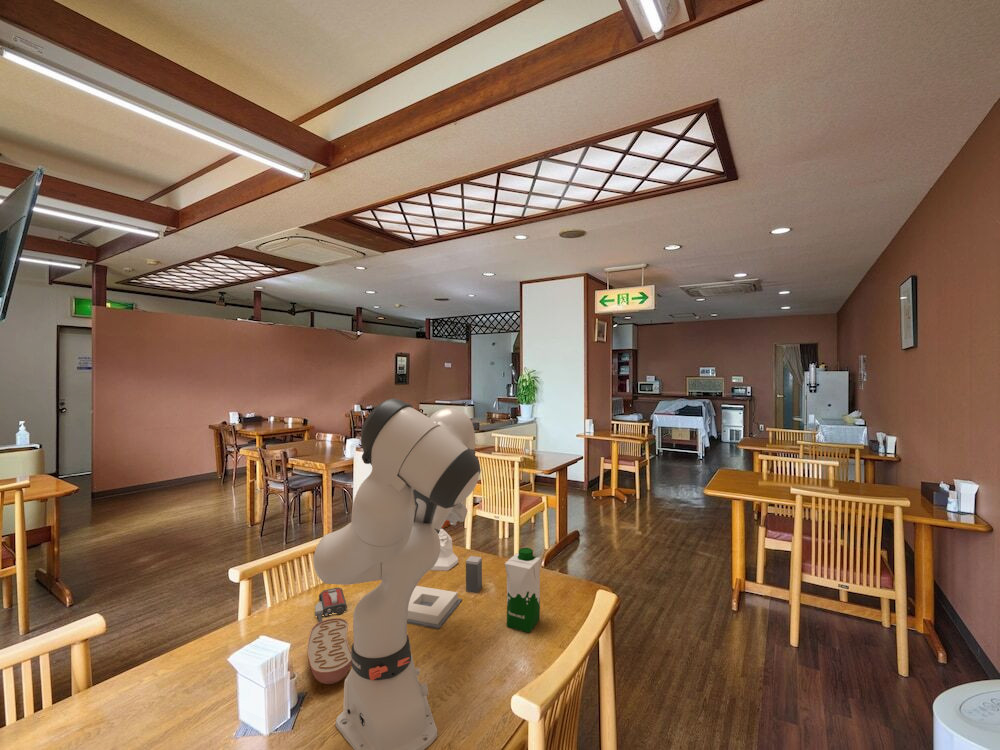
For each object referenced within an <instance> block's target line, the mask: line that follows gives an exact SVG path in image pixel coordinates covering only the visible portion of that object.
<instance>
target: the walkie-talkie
mask: <svg viewBox="0 0 1000 750" xmlns="http://www.w3.org/2000/svg"><path fill="white" fill-rule="evenodd" d="M343 591H344V590H343V589H342V588H341V587H339V586H338V587H334V588H333V587H332V588H328V589H325V590H322V592H320V593H319V595H318V599H319V601H318V602H317V603H316V604H315V605H314V617H315V616H317V618H316V619H317V622H318V623H319V622H321V621H323V619H322V615H324V616H327V615H329V614H332V613H337V614H336V615H341V614H340V613H342V612H344V611H346V612H347V607H348V604H347V601H346V599H345V596H344V592H343ZM344 613H345V612H344ZM342 614H343V613H342ZM324 616H323V617H324ZM318 623H317V624H318Z"/></svg>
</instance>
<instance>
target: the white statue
mask: <svg viewBox="0 0 1000 750" xmlns="http://www.w3.org/2000/svg"><path fill="white" fill-rule="evenodd" d="M438 536H439V539H440V545H441V548H440V554H439V558H438V560H437V562H436V564H435V565H434V566H433V568H432V569H430V570H429V571H443V570H444V571H447V572H448V571H450V570H451V569H452V568H453V567H455V566H456V565H457V564H459V558H458V556H457V555H456V554H455V553H454V551H453V539H452V537H451V535H449V534H448V532H447V531H445V529H444V528H441V529H440V532H439V534H438Z"/></svg>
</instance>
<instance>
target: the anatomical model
mask: <svg viewBox="0 0 1000 750" xmlns="http://www.w3.org/2000/svg"><path fill="white" fill-rule="evenodd" d="M348 630H349V623H348V620H346V619H344V618H337V617H336V618H327V619H325V620H324V619H323V620H322V621H321V622H319V623H317V624H315V625H314V626H313V627H312V628H311V630H310V632H309V636H308V641H307V648H306V649H307V657H308V663H309V665H310V670H311V672H312V675H313V677H314V678H315V679H316V681H318V682H319V683H320V684H323V685H333V684H335V683H339V681H341V680H343V678H344V677H346V676H347V675H348V674H349V672H350V671H351V668H352V664H351V651H352V649H351V648H350V646H349V641H348Z"/></svg>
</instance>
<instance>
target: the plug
mask: <svg viewBox="0 0 1000 750" xmlns="http://www.w3.org/2000/svg"><path fill="white" fill-rule="evenodd" d="M482 559H483V558H482V557H481V556H474V555H470V556H469V557H468V558H467V559H466V560H465V592H468V593H473V594H479V592H480V591H481V590H482V589H483V564H482V563H483V560H482Z"/></svg>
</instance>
